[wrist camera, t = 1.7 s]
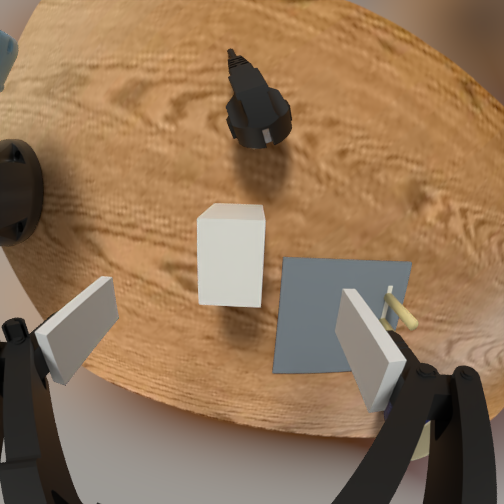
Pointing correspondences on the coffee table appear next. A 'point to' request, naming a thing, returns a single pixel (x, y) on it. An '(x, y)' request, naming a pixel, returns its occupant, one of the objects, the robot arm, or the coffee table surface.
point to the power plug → (255, 107)
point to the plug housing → (231, 255)
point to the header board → (332, 308)
